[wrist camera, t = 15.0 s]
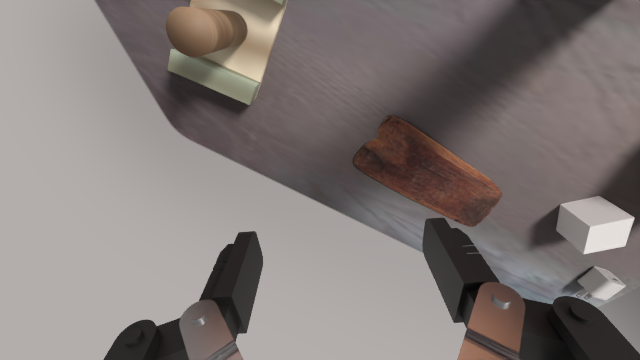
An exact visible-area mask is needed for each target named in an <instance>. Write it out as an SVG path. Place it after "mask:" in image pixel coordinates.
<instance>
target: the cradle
mask: <svg viewBox="0 0 640 360" xmlns="http://www.w3.org/2000/svg"><path fill="white" fill-rule="evenodd" d="M287 2H288V0H191V2H190V7H194V8H205V9H217V10H229V11H235V12H237V13H238V14H240V15H241V16H242V17H243V18H244V20H245V22H246V24H247V29H248V32H247V37H246V39H245V40H244V42H243V43H241V44H239V45H236V46H233V47H229V48H226V49H223V50H220V51H216V52H213V53H210V54H206V55H203V56H200V57H189V56H186V55H184V54H182V53H180V52H179V51H178V50H177V49H171V52H170V58H169V64H168V70H169V71H171V72H173V73H176V74H178V75H180V76H183V77H185V78H187V79H190V80H192V81H194V82H197V83H199V84H201V85H204V86H206V87H208V88H211V89H213V90H215V91H218V92H220V93H222V94H225V95H227V96H229V97H232V98H234V99H236V100H239V101H241V102H243V103H246V104H248V105H250V104H251V103H252V102H253V101H254V100H255V99H256V97H257V94H258V91H259V88H260V85H261V82H262V79H263V76H264V73H265V69H266V66H267V63H268V60H269V57H270V54H271V51H272V48H273V45H274V42H275V39H276V36H277V33H278V30H279V27H280V23H281V20H282V17H283V14H284V11H285V8H286V5H287Z"/></svg>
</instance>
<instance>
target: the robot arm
mask: <svg viewBox="0 0 640 360" xmlns="http://www.w3.org/2000/svg"><path fill="white" fill-rule="evenodd" d="M423 253H424V256H425V259H426V261H427V263H428V265H429V268H430V270H431V272H432V274H433V277H434V279H435V281H436V283H437V286H438V288H439V290H440V292H441V295H442V297H443V299H444V302H445V303H446V306H447V308H448V311H449V313H450V315H451V317H452V320H453V322H454V323H459V322H464V324H465V326H466V328H467V330H466V333H465V337H464V340H463V343H462V346H461V349H460V353H459V356H458V359H457V360H640V354H639V353H638V352H637V351H636V350H635V348H634V347H633V346H632V345H631V344H630V343H629V342H628V341H627V340H626V339H625V337H624V336H623V335H622V334H621V333H620V332H619V331H618V330H617V328H615V326H614V325H613V324H612V323H611V322H610V321H609V320H608V318H607V317H606V316H605V315H604V314H603V313H602V312H601V311H600V310H598V309H597V308H596V307H594V306H593V305H591V304H590V303H588V302H586V301H584V300H581V299H578V298H575V297H570V296H562V297H558V298H556V299H555V300H554V302H553V304H547V303H542V302H537V301H533V300H528V299H524V298H522V297H521V296H520V295H519V294H518V293H517V292H516V291H515V290H514V289H512V288H511V287H509V286H507V285H504V284H502V283H500V282H499V280H498V279H497V277H496V276H495V275H494V273H493V272H492V270H491V269H490V267H489V266H488V264H487V263H486V261H485V260H484V259H483V257H482V256H481V254H479V251H478V250H477V248H476V247H475V246H474V244H473V243H472V241H471V240H470V238H469V237H468V235H466V234H465V233H463V232H462V231H461V230H459V229H458V228H451V227H450V226H449V224H448V223H447V221H446V220H445V218H432V219H426V221H425V227H424V236H423ZM262 266H263V256H262V252H261V248H260V245H259V241H258V238H257V234H256V232H255V231H252V232H240V233H238V235H237V237H236V240H235V242H234V244H228V245H227V246H226V247H225V248H224V249H223V250H222V251H221V252H220V254H219V257H218V259H217V261H216V264H215V266H214V268H213V271H212V273H211V275H210V277H209V279H208V282H207V284H206V286H205V289H204V291H203V293H202V295H201V298H200V300H199V302H196V303H194V304H193V305H191V306H190V307H189V308H188V309H187V310H186V311H185V312H184V313H183V315H182V316H181V318H179V319H176V320H174V321H171V322H168V323H165V324H162V325H159V326H156V325H155V323H154V322H153V321H151V320H141V321H138V322H135V323H133V324H132V325H130V326H128V327H127V328H126V329H125V330H124V331H123V332H121V333H120V334H119V336H118V337H117V338H116V340H115V341H114V343H113V345H112V347H111V348H110V350H109V351H108V353H107V355H106V356H105V358H104V360H243V358H242V356H241V354H240V352H239V350H238V347H237V345H236V343H235V342H236V338H237V334H239V333H247V329H248V325H249V320H250V317H251V312H252V308H253V304H254V300H255V296H256V292H257V288H258V284H259V279H260V275H261V271H262Z"/></svg>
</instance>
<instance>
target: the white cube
mask: <svg viewBox="0 0 640 360" xmlns="http://www.w3.org/2000/svg"><path fill="white" fill-rule="evenodd" d="M633 221H634V217H633V216H631V215H630V214H628V213H626V212H625V211H623V210H622V209H620V208H618V207H617V206H615V205H613V204H612V203H610V202H609V201H607V200H605V199H604V198H602V197H600V196H596V197H591V198H587V199H582V200H578V201H573V202H569V203H564V204H560V209H559V215H558V221H557V227H556V231H558V232H559V233H560V234H561V235H562V236H563V237H564V238H566V239H567V240H568V241H569V242H570V243H571V244H572V245H574V246H575V247H576V248H577V249H578V250H579V251H580V252H582V253H583V254H587V253H592V252H598V251H603V250H608V249H613V248H618V247H623V246H625V245H626V242H627V239H628V236H629V233H630V230H631V227H632V224H633Z"/></svg>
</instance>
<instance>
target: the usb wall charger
mask: <svg viewBox="0 0 640 360" xmlns="http://www.w3.org/2000/svg"><path fill="white" fill-rule="evenodd" d="M577 281H578V283H579V284H580V285H581V286H582V287H583V288H584V289H583V290H581V291H580V292H579V293H578V294H579V295H580V297H581V296H583V295H584V294H585V293H587V292H588V294H587V295H586V296H585V297H584V298H585V299H586V297H588V299H590V298H591V297H592V296H593V297H596V298H600V299H603V300H607V299H609V298H610V297H611V296H613V295H614V294H616V293H617V292H618V291H620V290H621V289H622V288H624V287H625V284H623V283H622V282H621V281H620V280H619V279H618V278H617V277H615V276H614V275H613V274H612V273H611V272H609V271H608V270H605V269H602V268H599V267H595V266H594V267H593V268H592V269H591V270H589V271H588V272H587V273H586V274H584V275H583V276H582V277H581V278H580V279H578V280H577ZM578 294H577V295H576V296H577V297H578V298H580V297H579V296H578ZM588 299H586V300H588Z"/></svg>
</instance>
